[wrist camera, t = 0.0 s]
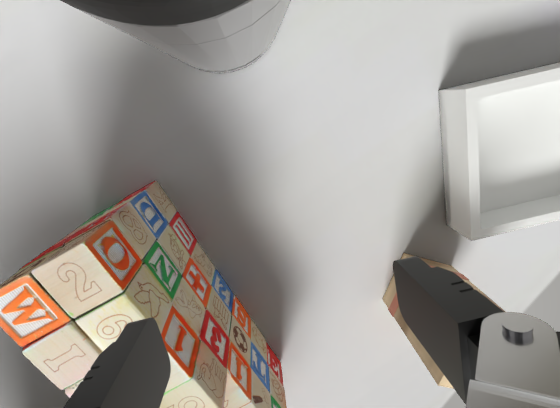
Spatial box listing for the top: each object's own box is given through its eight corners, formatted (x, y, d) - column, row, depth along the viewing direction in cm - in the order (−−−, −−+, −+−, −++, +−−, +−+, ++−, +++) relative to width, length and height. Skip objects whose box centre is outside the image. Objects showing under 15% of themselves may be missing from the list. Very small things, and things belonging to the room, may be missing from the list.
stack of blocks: (283, 361, 33) (300, 505, 22) (228, 388, 34) (216, 543, 22) (155, 177, 27) (80, 241, 15) (90, 215, 27) (-32, 304, 15)
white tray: (438, 90, 26) (465, 89, 23) (581, 57, 26) (629, 51, 23) (446, 224, 30) (471, 240, 27) (572, 195, 30) (612, 207, 27)
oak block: (381, 299, 32) (437, 387, 22) (403, 252, 30) (473, 323, 21) (428, 310, 33) (502, 400, 23) (451, 265, 31) (540, 340, 22)
